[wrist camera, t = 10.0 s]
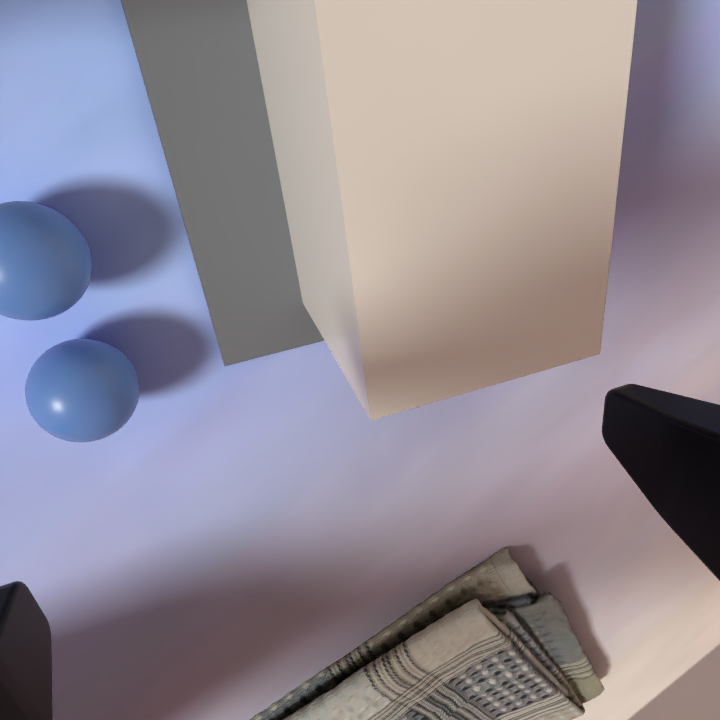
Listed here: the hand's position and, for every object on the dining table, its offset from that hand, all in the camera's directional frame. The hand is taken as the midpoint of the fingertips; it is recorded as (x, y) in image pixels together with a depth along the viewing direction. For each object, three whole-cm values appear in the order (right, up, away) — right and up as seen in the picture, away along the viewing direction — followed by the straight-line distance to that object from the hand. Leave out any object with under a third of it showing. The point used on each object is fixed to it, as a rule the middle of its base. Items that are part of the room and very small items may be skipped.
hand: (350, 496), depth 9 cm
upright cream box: (+1, +9, +9) cm, 12 cm away
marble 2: (-8, +2, +10) cm, 13 cm away
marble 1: (-9, +5, +8) cm, 13 cm away
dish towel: (+4, -17, +26) cm, 31 cm away
